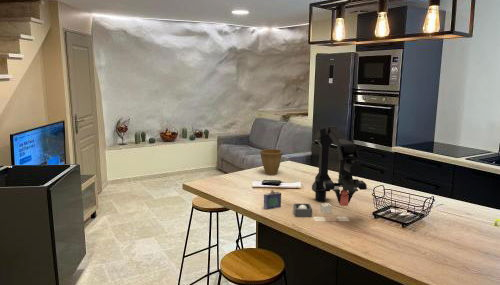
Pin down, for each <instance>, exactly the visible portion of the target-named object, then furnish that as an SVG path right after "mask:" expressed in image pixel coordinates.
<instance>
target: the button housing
mask: <svg viewBox="0 0 500 285" xmlns="http://www.w3.org/2000/svg"><path fill="white" fill-rule="evenodd" d="M300 205H305V206H306V207H307V209H298V207H299V206H300ZM292 206H293V209H292V210H293V215H294V217H296V218H313V208H312V206H311V204H310V203H293V205H292Z"/></svg>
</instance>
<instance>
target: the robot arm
mask: <svg viewBox="0 0 500 285" xmlns="http://www.w3.org/2000/svg"><path fill="white" fill-rule="evenodd" d="M315 134H316V141H317V143H318V145H319V155H318V157H319V158H318V173H317V174H316V175H315V177H314V182H313V184H312V185H311V190H312V191H313V192H314V193H315V195H314V200H315V201H316V202H319V203H324V202H325V203H326V201H327V192H331V191H333V192H334V193H335V195H336V199H337V202H338V204H339V203H340V193H341V190H340V188H342V190H344V191H348V194H349V199H348V204H349V203H350V202H351V199H352V197H353V196H354V194H355V193H356V192H359V191H361V190H365V191H366V190H367V189H368V188H367V184H366V182H365V181H364V180H360V179H358V178H355V179H354V178H353V177H359V176H360V175H361V174H362V172H363V166H362V164H360V163H359V160H360V158H359V156H360V155H359V152H358V150H357V147H356V145H355V144H354V142H352V141H351V140H347V139H346V138H345V137H344V136H343V134H341V132H340V131H339V129H338V127H337V126H336V125H333V126H332V125H331V126H325V127H324V128H322V129H318V131H317V132H316V133H315ZM333 143H334V144H335V146H336V152H337V154H338V158H337V159H339V164H338V165H339V166H338V179H337V182H334V181H333V180H332V178H331V177H330V175H329V157H330V147H331V146H332V144H333Z"/></svg>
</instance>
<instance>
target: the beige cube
mask: <svg viewBox="0 0 500 285" xmlns="http://www.w3.org/2000/svg"><path fill="white" fill-rule="evenodd" d="M320 212H322V214H324V215H326V214H328V215H329V214H332V213H333V206H332V205H331V204H330V203H329V202H325V203H324V202H322V203H320Z"/></svg>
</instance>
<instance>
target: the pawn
mask: <svg viewBox="0 0 500 285" xmlns="http://www.w3.org/2000/svg"><path fill="white" fill-rule="evenodd" d="M348 199H349V194H348V190H347V191H344V190H343V189H341V190H340V203H338V204H339V206H342V207H348V206H349V203H348Z"/></svg>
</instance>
